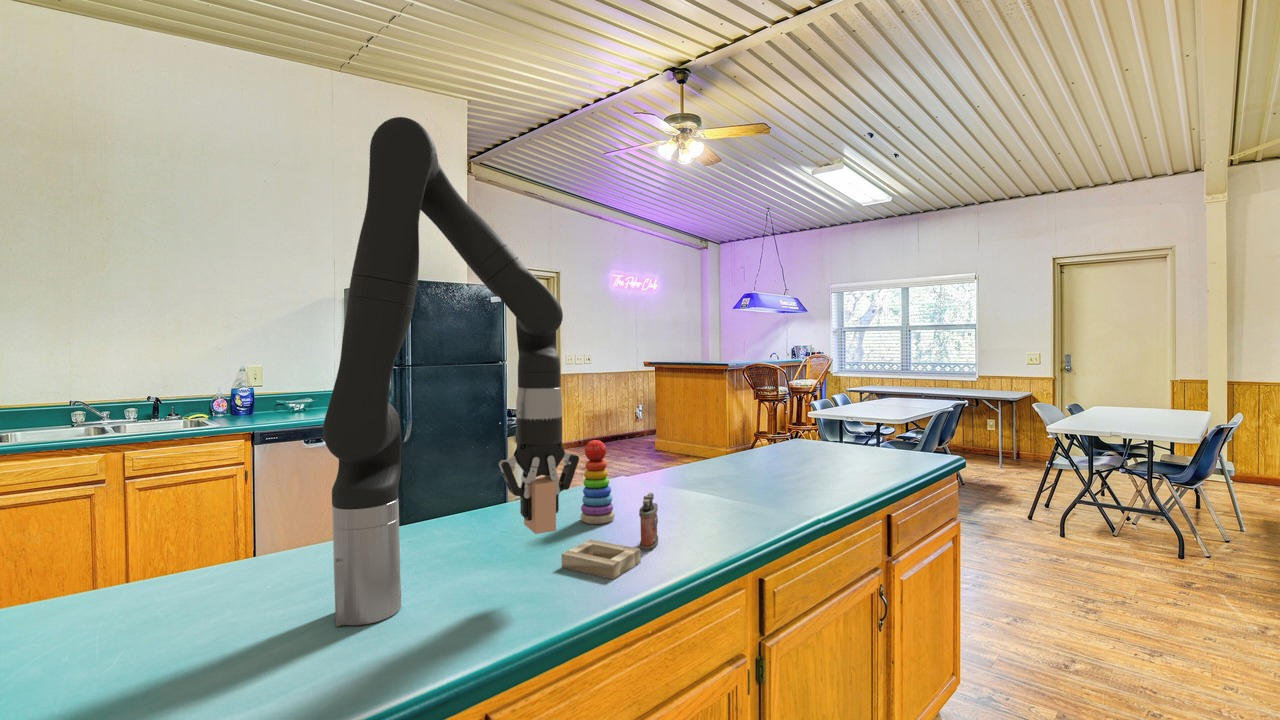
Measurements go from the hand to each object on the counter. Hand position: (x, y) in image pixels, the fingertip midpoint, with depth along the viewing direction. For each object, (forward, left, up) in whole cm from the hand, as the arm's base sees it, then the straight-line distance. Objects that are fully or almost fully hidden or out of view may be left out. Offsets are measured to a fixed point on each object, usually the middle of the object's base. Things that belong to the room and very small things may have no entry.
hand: (539, 517), depth 96 cm
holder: (+13, +5, -12) cm, 19 cm away
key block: (0, 0, -2) cm, 2 cm away
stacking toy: (+24, +31, -12) cm, 41 cm away
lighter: (+26, +10, -12) cm, 31 cm away
